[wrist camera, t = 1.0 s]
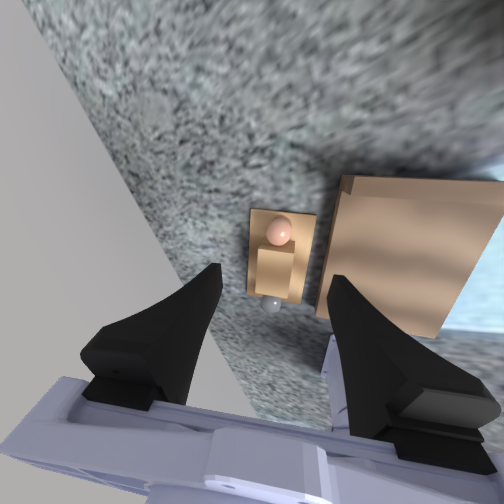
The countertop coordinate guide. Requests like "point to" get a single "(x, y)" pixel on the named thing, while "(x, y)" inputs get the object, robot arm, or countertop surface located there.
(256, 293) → the wooden stand
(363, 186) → the light wood stepped block
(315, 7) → the countertop surface
